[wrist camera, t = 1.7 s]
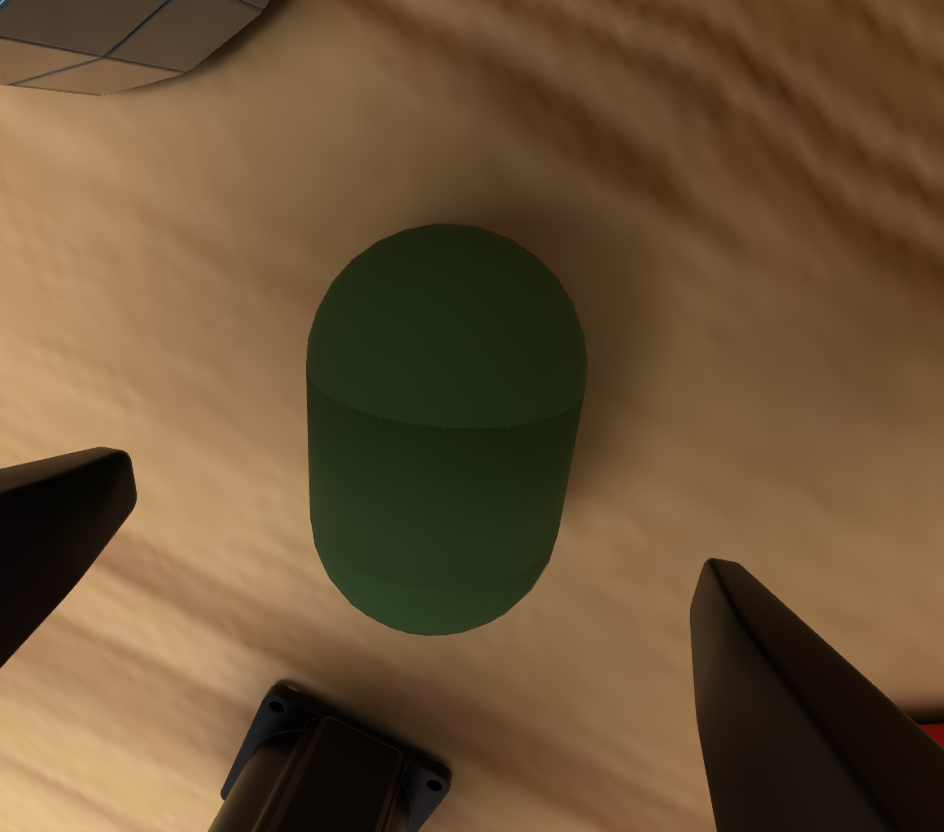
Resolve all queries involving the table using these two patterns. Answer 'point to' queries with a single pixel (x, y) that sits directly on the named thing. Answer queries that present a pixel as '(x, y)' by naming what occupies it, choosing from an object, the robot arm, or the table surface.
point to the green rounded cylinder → (441, 426)
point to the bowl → (112, 40)
